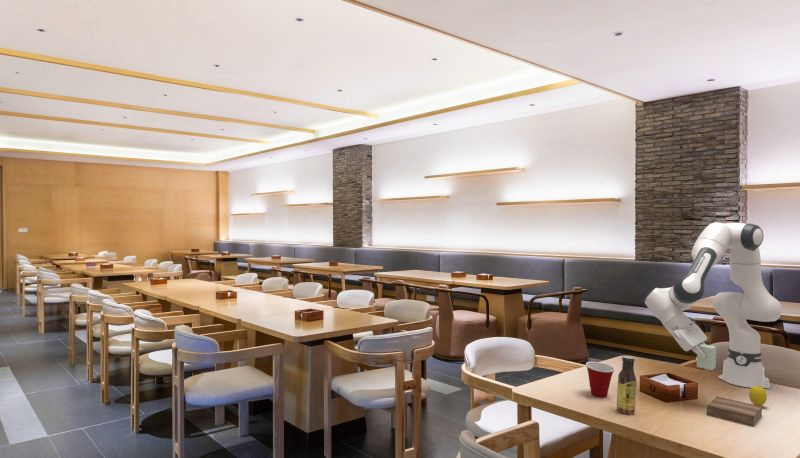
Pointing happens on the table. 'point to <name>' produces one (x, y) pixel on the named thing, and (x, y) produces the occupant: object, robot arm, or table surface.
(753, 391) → the lemon
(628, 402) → the sauce bottle
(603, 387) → the plastic cup
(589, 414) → the table surface
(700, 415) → the table surface
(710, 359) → the sage block
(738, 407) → the walnut slab
